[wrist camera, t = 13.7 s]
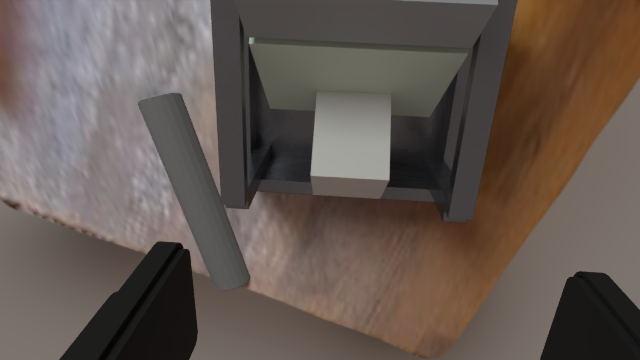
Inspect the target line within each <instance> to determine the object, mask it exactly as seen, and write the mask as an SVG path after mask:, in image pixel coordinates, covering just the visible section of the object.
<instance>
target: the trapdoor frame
mask: <svg viewBox="0 0 640 360" xmlns="http://www.w3.org/2000/svg"><path fill="white" fill-rule="evenodd" d="M210 1H211V20H212V38H213V57H214V75H215V94H216V113H217V131H218V150H219V168H220V187H221V204H226V208H238V209H249V207H250V205H251V202H252V200H253V198H254V196H255V194H256V192H257V191H261V192H277V193H294V194H310V195H313V191H312V183H311V162H312V149H313V136H314V123H315V111H305V110H286V109H270V107H269V103H268V100H267V97H266V94H265V91H264V88H263V85H262V82H261V79H260V76H259V73H258V70H257V67H256V64H255V61H254V58H253V55H252V52H251V49H250V46H249V37H246V34H245V31H244V28H243V25H242V22H241V19H240V16H239V13H238V10H237V7H236V4H235V1H234V0H210ZM516 4H517V0H498V6H497V7H496V9H495V11H494V12H493V14H492V16H491V17H490V19H489V21H488V22H487V24H486V26H485V27H484V29H483V30H482V32H481V34H480V35H479V37H478V39H477V40H476V42H475V44H474V45H473V47H472V48H468V55H467V57H466V58H465V60H464V62H463V63H462V65H461V67H460V68H459V70H458V71H457V73H456V75H455V76H454V78H453V80H452V81H451V83H450V85H449V86H448V88H447V90H446V91H445V93H444V94H443V96H442V98H441V99H440V101H439V103H438V104H437V106H436V108H435V109H434V111H433V113H432V114H431V116H430V117H416V116H398V115H391V131H390V176H389V182H388V184H387V186H386V188H385V190H384V192H383V194H382V196H381V198H380V199H393V200H409V201H426V202H435V204H436V207H437V209H438V211H439V213H440V216H441V218H442V220H443V221H448V222H464V223H466V221H467V219H469V220H473V215H474V210H475V205H476V200H477V195H478V190H479V185H480V181H481V176H482V171H483V166H484V161H485V156H486V151H487V146H488V141H489V137H490V132H491V127H492V122H493V117H494V112H495V107H496V102H497V97H498V93H499V88H500V83H501V78H502V73H503V68H504V63H505V58H506V53H507V48H508V44H509V39H510V34H511V29H512V24H513V19H514V14H515V9H516Z"/></svg>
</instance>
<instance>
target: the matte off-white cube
mask: <svg viewBox="0 0 640 360" xmlns="http://www.w3.org/2000/svg"><path fill="white" fill-rule="evenodd" d="M390 131H391V95H390V94H371V93H352V92H333V91H317V96H316V109H315V123H314V136H313V149H312V162H311V183H312V191H313V195H325V196H341V197H358V198H374V199H380V198H381V196H382V194H383V192H384V190H385V188H386V186H387V184H388V182H389V176H390Z"/></svg>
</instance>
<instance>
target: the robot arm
mask: <svg viewBox="0 0 640 360" xmlns="http://www.w3.org/2000/svg"><path fill="white" fill-rule="evenodd" d="M197 333H198V330H197V320H196V309H195V299H194V289H193V279H192V268H191V258H190V252H189V250H188V249H183V246H182V244H181V243H175V242H161V241H159V242H157V243H156V244H155V245H154V246H153V247H152V248H151V250H150V251H149V252H148V254H147V255H146V256H145V257H144V259H143V260H142V261H141V263H140V264H139V265H138V266H137V268H136V269H135V270H134V272H133V273H132V274H131V276H130V277H129V278H128V279H127V281H126V282H125V283H124V284H123V286H122V287H121V288H120V290H119V291H118V292H115V293H113V294H112V295H111V296H110V297H109V298H108V299H107V301H106V302H105V303H104V304H103V305H102V307H101V308H100V309H99V310H98V312H97V313H96V314H95V315H94V317H93V318H92V319H91V320H90V322H89V323H88V324H87V326H86V327H85V328H84V329H83V331H82V332H81V333H80V334H79V336H78V337H77V338H76V340H75V341H74V342H73V343H72V344H71V346H70V347H69V348H68V350H67V351H66V352H65V353H64V355H63V356H62V357H61V358H60V360H189V359H190V356H191V354H192V352H193V349H194V347H195V345H196V341H197ZM540 360H640V310H639V309H638V308H637V306H636V305H635V304H634V303H633V302H632V301H631V300H630V299H629V298H628V297H627V296H626V294H625V293H624V292H623V291H622V290H621V289H620V288H619V287H618V286H617V285H616V283H615V282H614V281H613V280H612V279H611V278H610V277H609V276H608V275H606V274H604V273H596V272H581V271H580V272H577V273H576V274H575V275H574V276H573V277H569V278H568V279H567V281H566V284H565V287H564V289H563V292H562V296H561V298H560V301H559V304H558V307H557V310H556V313H555V316H554V319H553V322H552V325H551V328H550V331H549V334H548V337H547V340H546V343H545V346H544V349H543V352H542V355H541V358H540Z"/></svg>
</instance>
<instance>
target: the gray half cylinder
mask: <svg viewBox="0 0 640 360" xmlns="http://www.w3.org/2000/svg"><path fill="white" fill-rule="evenodd" d="M138 106H139V108H140V110H141V113H142V115H143V117H144V120H145V122H146V125H147V127H148V129H149V132H150V134H151V136H152V139H153V141H154V144H155V146H156V148H157V151H158V153H159V156H160V158H161V160H162V163H163V165H164V167H165V170H166V172H167V175H168V177H169V179H170V182H171V184H172V186H173V189H174V191H175V194H176V196H177V198H178V201H179V203H180V205H181V208H182V210H183V213H184V215H185V217H186V220H187V222H188V224H189V227H190V229H191V232H192V234H193V236H194V239H195V241H196V243H197V246H198V248H199V251H200V253H201V255H202V258H203V260H204V262H205V265H206V267H207V270H208V272H209V274H210V277H211V279H212V281H213V284H214V286H215V287H216V288H217V289H219V290H223V291H227V290H233V289H236V288H238V287H240V286H242V285H244V284H245V283H246V282H247V281H248V279H249V278H250V275H249V272H248V270H247V267H246V264H245V262H244V259H243V256H242V254H241V251H240V248H239V246H238V243H237V241H236V238H235V235H234V233H233V230H232V227H231V225H230V222H229V219H228V217H227V214H226V211H225V209H224V206H223V204H221V198H220V196H219V193H218V190H217V188H216V185H215V182H214V180H213V177H212V174H211V172H210V169H209V167H208V164H207V161H206V159H205V156H204V153H203V151H202V148H201V145H200V143H199V140H198V137H197V135H196V132H195V130H194V127H193V124H192V122H191V119H190V116H189V114H188V111H187V108H186V106H185V103H184V100H183V98H182V95H181V94H179V93H170V94H165V95H161V96H157V97H153V98H149V99H145V100H142V101H140V102H138Z"/></svg>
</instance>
